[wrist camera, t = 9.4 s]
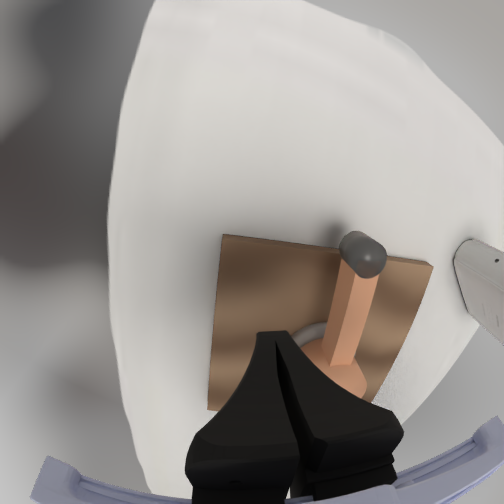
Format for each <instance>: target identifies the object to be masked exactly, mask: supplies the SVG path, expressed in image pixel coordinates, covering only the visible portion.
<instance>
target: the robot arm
mask: <svg viewBox="0 0 504 504" xmlns="http://www.w3.org/2000/svg"><path fill="white" fill-rule="evenodd" d="M403 435H404V431H403V429H402V427H401V425H400V423H399V421H398V419H397V418H396V416H395V415H394V413H393V412H392V411H390V410H387V409H385V408H382V407H379V406H377V405H374V404H372V403H369V402H367V401H365V400H363V399H361V398H359V397H357V396H356V395H354V394H352V393H350V392H349V391H347V390H346V389H344V388H342V387H341V386H339V385H338V384H337V383H335V382H334V381H333V380H331V379H330V378H329V377H328V376H327V375H325V374H324V373H323V372H322V371H321V370H320V369H319V368H318V367H317V366H316V365H315V364H314V363H313V362H312V361H311V360H310V359H309V358H308V357H307V356H306V355H305V353H304V352H303V351H302V350H301V349H300V347H299V346H298V345H297V344H296V342H295V341H294V340H293V338H292V337H291V335H290V334H289V332H288V331H286V330H281V331H262V332H258V333H257V334H256V344H255V348H254V351H253V354H252V357H251V360H250V363H249V365H248V367H247V369H246V371H245V374H244V376H243V378H242V379H241V381H240V383H239V385H238V386H237V388H236V390H235V391H234V393H233V394H232V395H231V397H230V398H229V400H228V401H227V402H226V404H225V405H224V406H223V407H222V408H221V409H220V411H219V412H218V413H217V414H216V415H215V416H214V417H213V418H212V419H211V420H210V421H209V422H208V423H207V424H206V425H205V426H204V427H203V428H201V429H200V430H199V431H198V432H197V433H196V434H195V436H194V438H193V441H192V443H191V445H190V447H189V450H188V453H187V457H186V463H185V474H186V476H187V478H188V479H189V481H190V483H191V485H192V486H193V492H192V499H183V498H175V497H168V496H161V495H155V494H150V493H145V492H140V491H135V490H131V489H126V488H122V487H119V486H115V485H111V484H108V483H105V482H101V481H98V480H95V479H92V478H89V477H86V476H83V475H81V474H80V472H79V471H78V470H77V469H75V468H74V467H73V466H71V465H69V464H67V463H65V462H62V461H60V460H58V459H55V458H53V457H51V456H47V457H46V459H45V461H44V464H43V466H42V468H41V471H40V473H39V475H38V478H37V480H36V483H35V485H34V488H33V490H32V493H31V496H30V499H31V500H33V501H34V502H35V503H37V504H450V503H451V502H453V501H454V500H456V499H458V498H459V497H461V496H462V495H464V494H465V493H467V492H468V491H470V490H471V489H472V488H474V487H475V486H477V485H478V484H480V483H481V482H482V481H484V480H485V479H486V478H488V477H489V476H490V475H491V474H493V473H494V472H495V471H496V470H497V469H498V468H499V467H500V466H502V465H503V464H504V424H503V423H502V422H501V420H500V419H499V418H498V416H495V417H494V418H492V419H491V420H489V421H487V422H486V423H484V424H483V425H482V426H481V427H480V428H479V429H478V430H477V431H476V432H475V433H474V434H473V436H472V437H471V438H470V439H468V440H466V441H464V442H462V443H461V444H459V445H457V446H455V447H453V448H452V449H450V450H448V451H446V452H444V453H442V454H440V455H438V456H436V457H434V458H432V459H430V460H428V461H425V462H423V463H421V464H418V465H416V466H413V467H411V468H409V469H406V470H404V471H401V472H398V473H396V472H395V470H394V467H393V465H392V463H393V462H394V457H393V455H392V452H393V451H394V450H395V448H396V447H397V446H398V444H399V443H400V441H401V439H402V438H403ZM289 487H290V497H291V498H290V499H286V496H287V493H288V490H289Z"/></svg>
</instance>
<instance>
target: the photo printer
mask: <svg viewBox="0 0 504 504" xmlns="http://www.w3.org/2000/svg"><path fill="white" fill-rule="evenodd" d="M454 266H455V271H456V274H457V278H458V281H459V284H460V288H461V291H462V294H463V298H464V301H465V304H466V307H467V310H468V312H469V313H470V315H471V316H472V317H473V318H474V319H475V320H476V321H477V322H478V323H479V324H480V325H482V326H483V327H484V328H485V329H486V330H487V331H488V332H489V333H490V334H492V335H493V336H494V337H495V338H496V339H497V340H498V341H499V342H500V343H501V344H502V345H503V346H504V252H502V251H500V250H498V249H496V248H494V247H492V246H490V245H488V244H486V243H484V242H482V241H480V240H477V239H473V240H467V241H465V242H464V243H463V244H462V245H461V246H460V247H459V248H458V250H457V252H456V254H455V259H454Z"/></svg>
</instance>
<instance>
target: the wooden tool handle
mask: <svg viewBox="0 0 504 504" xmlns="http://www.w3.org/2000/svg"><path fill="white" fill-rule="evenodd" d="M339 253H340V256H341V258H342V259H341V264H340V269H339V274H338V278H337V283H336V288H335V292H334V297H333V301H332V305H331V310H330V314H329V318H328V322H327V326H326V330H325V334H324V337H323V338H320V339H317V340H314V341H311V342H309V343H307V344H306V345H304V346H303V347H301V348H300V349H301V350H302V351H303V352H304V353H305V355H306V356H307V357H308V358H309V359H310V360H311V361H312V362H313V363H314V364H315V365H316V366H317V367H318V368H319V369H320V370H321V371H322V372H323V373H324V374H325V375H327V376H328V377H329V378H330V379H331V380H333V381H334V382H335V383H337V384H338V385H339V386H341V387H342V388H344V389H346V390H347V391H349V392H350V393H352V394H354V395H356V396H357V397H359V398H362V397H363V395H364V394H365V392H366V389H367V381H366V379H365V377H364V375H363V373H362V371H361V369H360V367H359V365H358V363H357V361H356V360H355V358H354V355H355V352H356V349H357V346H358V344H359V341H360V338H361V335H362V332H363V329H364V326H365V323H366V319H367V316H368V313H369V309H370V306H371V303H372V299H373V296H374V292H375V288H376V285H377V281H378V277H379V274H380V273H381V271H382V270H383V269H384V267H385V265H386V261H387V253H386V250H385V248H384V247H383V246H382V245H381V244H379V243H378V242H376V241H375V240H373V239H372V238H370V237H369V236H367V235H366V234H364V233H363V232H360V231H353V232H350V233H348V234H347V235H345V236H344V238H343V239H342V241H341V243H340V246H339Z"/></svg>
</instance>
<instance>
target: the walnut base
mask: <svg viewBox="0 0 504 504" xmlns="http://www.w3.org/2000/svg"><path fill="white" fill-rule="evenodd" d="M341 259H342V258H341V256H340V253H339V249H334V248H327V247H320V246H313V245H305V244H298V243H290V242H282V241H275V240H267V239H259V238H251V237H243V236H235V235H227V234H223V238H222V245H221V254H220V263H219V273H218V282H217V293H216V303H215V314H214V325H213V337H212V349H211V362H210V375H209V390H208V406H207V410H212V411H220V409H221V408H222V407H223V406H224V405H225V404H226V402H227V401H228V400H229V398H230V397H231V395H232V394H233V393H234V391H235V390H236V388H237V386H238V385H239V383H240V381H241V379H242V378H243V376H244V374H245V371H246V369H247V367H248V365H249V363H250V360H251V357H252V354H253V351H254V348H255V344H256V334H257V333H258V332H262V331H281V330H286V331H288V332H289V334H290V335H291V337H292V338H293V340H294V341H295V342H296V344H297V345H298V346H299V347H300V348H301V347H303V346H304V345H306V344H307V343H309V342H311V341H314V340H317V339H320V338H323V337H324V334H325V330H326V326H327V322H328V318H329V314H330V310H331V305H332V301H333V297H334V292H335V288H336V283H337V278H338V274H339V269H340V264H341ZM432 270H433V266H432V265H430V264H429V263H427V262H424V261H417V260H411V259H404V258H397V257H390V256H387V261H386V265H385V267H384V269H383V270H382V271H381V273H380V274H379V277H378V281H377V285H376V288H375V292H374V296H373V299H372V303H371V306H370V309H369V313H368V316H367V319H366V323H365V326H364V329H363V332H362V335H361V338H360V341H359V344H358V346H357V349H356V352H355V355H354V358H355V360H356V361H357V363H358V365H359V367H360V369H361V371H362V373H363V375H364V377H365V379H366V381H367V389H366V392H365V394H364V395H363V397H362V398H361V399H363V400H365V401H367V402H369V403H371V402H372V400H373V399H374V397H375V395H376V394H377V392H378V390H379V388H380V387H381V385H382V383H383V381H384V380H385V378H386V376H387V374H388V372H389V371H390V369H391V367H392V365H393V363H394V361H395V359H396V357H397V355H398V353H399V351H400V349H401V347H402V345H403V343H404V341H405V339H406V337H407V334H408V332H409V330H410V328H411V325H412V323H413V321H414V318H415V316H416V314H417V311H418V309H419V306H420V304H421V301H422V298H423V296H424V293H425V290H426V288H427V285H428V282H429V279H430V276H431V273H432Z"/></svg>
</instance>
